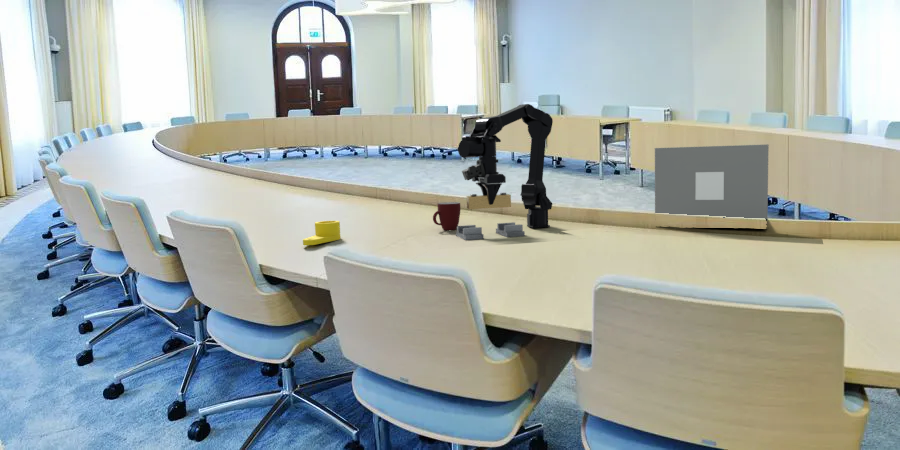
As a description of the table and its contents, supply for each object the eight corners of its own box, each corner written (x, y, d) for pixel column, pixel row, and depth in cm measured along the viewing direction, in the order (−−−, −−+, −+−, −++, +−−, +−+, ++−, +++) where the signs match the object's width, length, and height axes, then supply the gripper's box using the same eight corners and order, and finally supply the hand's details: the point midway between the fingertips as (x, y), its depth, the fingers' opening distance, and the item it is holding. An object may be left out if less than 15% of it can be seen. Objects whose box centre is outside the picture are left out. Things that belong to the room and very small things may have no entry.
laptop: (766, 220, 245) (767, 143, 242) (767, 229, 221) (768, 144, 218) (664, 219, 259) (664, 146, 256) (654, 228, 236) (654, 148, 233)
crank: (323, 237, 243) (322, 220, 242) (344, 237, 240) (344, 220, 239) (295, 245, 226) (294, 226, 225) (317, 245, 223) (316, 226, 222)
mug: (442, 233, 239) (441, 205, 237) (428, 232, 245) (427, 204, 244) (465, 230, 245) (464, 202, 244) (451, 229, 251) (450, 201, 250)
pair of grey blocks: (512, 231, 237) (512, 221, 237) (524, 236, 226) (524, 225, 225) (456, 235, 232) (455, 225, 232) (465, 240, 221) (465, 229, 220)
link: (508, 205, 231) (507, 192, 230) (511, 206, 227) (510, 192, 227) (467, 208, 229) (466, 194, 228) (469, 209, 225) (468, 195, 225)
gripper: (456, 157, 233) (458, 203, 235) (471, 157, 215) (473, 207, 217) (488, 156, 236) (489, 201, 238) (505, 156, 218) (506, 205, 220)
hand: (489, 204), depth 228 cm, fingers closed on link, 4 cm apart
